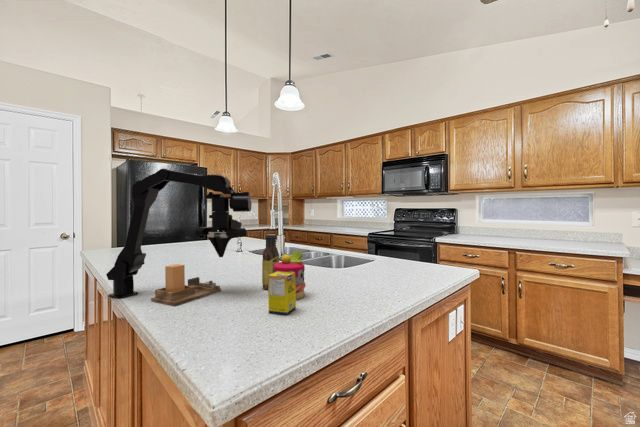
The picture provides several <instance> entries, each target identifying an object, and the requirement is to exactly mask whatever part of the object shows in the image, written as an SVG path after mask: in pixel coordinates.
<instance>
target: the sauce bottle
mask: <svg viewBox="0 0 640 427" xmlns="http://www.w3.org/2000/svg"><path fill="white" fill-rule="evenodd" d="M278 251H279V250H278V248H277V234H274V233H273V234H265V248H264V250H263V252H262V260H261V262H262V264H261V267H262V268H261V270H262V271H261V272H262V274H261V276H262V278H261V283H262V289H263V290H268V275H270V274H272V273H274V265H275V264H276V263H279V262H280V253H279V252H278Z"/></svg>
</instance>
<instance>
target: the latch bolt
mask: <svg viewBox="0 0 640 427" xmlns="http://www.w3.org/2000/svg"><path fill="white" fill-rule="evenodd" d="M201 283H202V287H207V288H212V290H213V289H216V285H217V283H216V282H213V280H208V281H205V282H201Z"/></svg>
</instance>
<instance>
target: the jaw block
mask: <svg viewBox="0 0 640 427" xmlns="http://www.w3.org/2000/svg"><path fill="white" fill-rule="evenodd" d="M185 266H186V265H185V264H179V263H176V264H171V265H165V267H164V268H165V269H164V273H165V274H164V276H165V278H164V279H165V287H166V291H167V292H177V291H180V290H184V289H185V282H186V281H185V279H186V278H185V275H186V274H185V272H186V271H185Z"/></svg>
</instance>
